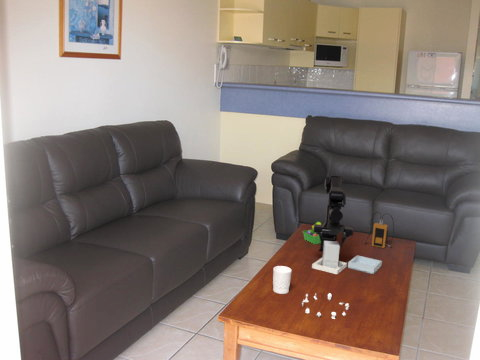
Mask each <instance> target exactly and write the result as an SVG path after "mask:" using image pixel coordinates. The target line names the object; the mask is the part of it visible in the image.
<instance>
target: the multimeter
mask: <svg viewBox="0 0 480 360" xmlns="http://www.w3.org/2000/svg"><path fill="white" fill-rule="evenodd" d="M377 213H378V214H380V215H382V213H381V212H380V211H376V212H375V213H374V214H373V216H372V220H371V223H372V224H371V225H372V226H371V231H370V233H369V234H368V237H367V239H366V241H365V242H364V243H365V244H364V245H367V244H368V242H367V240H368V239H369V237H370V235H371V232H372V240H371V246H372V247H377V248H382V249H385V247H386V246H388V247H390V248H391V249H392V248H393V247H392V245H391V244H392V242H393V240H391V242H390V245H389V244H387V241H388V235H389V230H388V229H389V228H388V224H385V223H383V220H384V219H383V218H384V217H385V215H386V213H384V214H383V215H382V216H381V217H380V219H379V222H375V223H374V216H375V215H376V214H377ZM388 215H389V216H390V217H391V220H392V223H393V227H395V223H394V218H393V217H392V215H391V214H389V213H388ZM373 223H374V224H373ZM372 230H373V231H372ZM394 233H395V228H393V232H392V234H394ZM391 237H392V238H391V239H393V238H394V235H392V236H391Z"/></svg>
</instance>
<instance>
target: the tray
mask: <svg viewBox="0 0 480 360" xmlns="http://www.w3.org/2000/svg"><path fill="white" fill-rule="evenodd" d="M382 264H383V260H379V259H375V258H371V257H367V256H361V255H359V254H357V255H356V256H354V257H353V258H351V260H349V261H348V262H347V268H348V269H351V270H354V271H360V272H362V273H367V274H371V275H374V274H376V272H378V270H379V269H380V268H382V266H383V265H382Z"/></svg>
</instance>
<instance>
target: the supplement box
mask: <svg viewBox="0 0 480 360" xmlns="http://www.w3.org/2000/svg"><path fill="white" fill-rule="evenodd" d="M340 246H341V245H340V244H339V241H324V246H323V251H322V257H321V258H322V264H321V265H322V266H326V267H330V268H334V269H336V268H337V267H338V261H339V257H340V256H339V255H340V249H341V247H340Z"/></svg>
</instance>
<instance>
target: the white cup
mask: <svg viewBox="0 0 480 360" xmlns="http://www.w3.org/2000/svg"><path fill="white" fill-rule="evenodd" d="M272 271H273V272H272V287H273V288H272V290H273V292H274V293H276V294H280V295H284V294H288V293H289V289H290V284H291V277H292V272H293V270H292V269H291V268H290V267H288V266H284V265H277V266H273V270H272Z"/></svg>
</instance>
